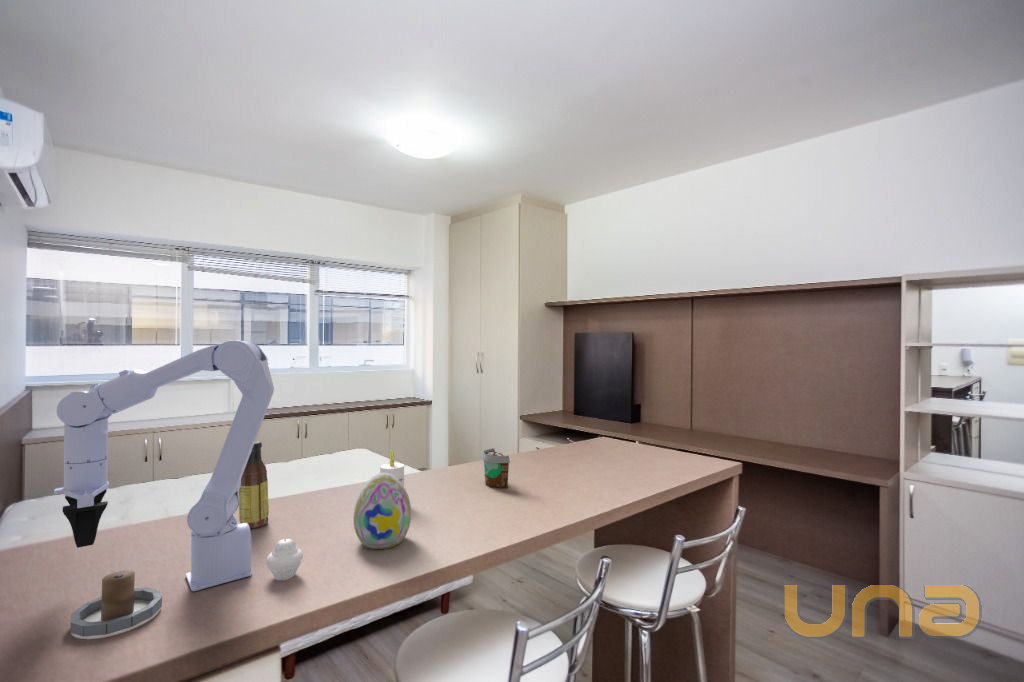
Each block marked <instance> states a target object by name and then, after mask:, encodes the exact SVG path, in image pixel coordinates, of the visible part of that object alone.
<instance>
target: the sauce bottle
mask: <svg viewBox="0 0 1024 682" xmlns="http://www.w3.org/2000/svg"><path fill="white" fill-rule="evenodd" d="M262 446H263V444H262V441H261V440H255V443H254V446H253V448H252V451H251V454H250V456H249V459H248V462H247V464H246V467H245V470H244V472H243V475H242V477H241V486H240V488H239V506H238V520H239V523H248V525H249V527H250V530H251V529H257V528H261V527H264V526H265V525H267V524H268V522H269V512H270V511H269V510H270V509H269V508H270V507H269V483H268V482H269V481H268V479H269V478H268V470H267V467H266V465H265V463H264V462H263V460H262Z"/></svg>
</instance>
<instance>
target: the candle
mask: <svg viewBox="0 0 1024 682" xmlns="http://www.w3.org/2000/svg"><path fill="white" fill-rule="evenodd" d="M379 471H380V472H379V473H389V474H391V475H393V476H395V477H396V478H397V479H398V480H399V481H400V482H401V483H402V485H403V486H404V487H405V464H404V463H399V462H395V455H394V451H393V449H392V448H390V449H389V463H384V464H381V465H380V466H379Z"/></svg>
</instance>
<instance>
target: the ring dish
mask: <svg viewBox="0 0 1024 682" xmlns="http://www.w3.org/2000/svg"><path fill="white" fill-rule="evenodd" d="M101 602H102V595H101V596H98V597H97V598H95V599H92V600H90V601H87V602H86V603H84V604H82V605H80V607H78V608H77V609H76V610H74V611H73V612H71V614H70V620H69V621H70V623H69V624H70V625H69V626H70V628H69V631H70V632H69V633H70V635H71V636H72V637H74V638H75V639H78V640H79V639H80V640H97V639H103V638H109V637H113V636H118V635H121V634H123V633H126V632H129V631H132V630H134V629H137V628H139V627H141V626H143V625H145V624H146V623H148V622H150V621H151V620H153V619H154V618H155V617H156V616H158V614H159V613H160V611H161V608H162V607H163V596H162V592H161V590H160V589H157V588H153V587H152V588H151V587H134V612H133V613H132V614H130V615H127V616H123V617H120V618H116V619H113V620H109V621H102V620H101Z"/></svg>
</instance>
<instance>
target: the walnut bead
mask: <svg viewBox="0 0 1024 682" xmlns="http://www.w3.org/2000/svg"><path fill="white" fill-rule="evenodd" d="M135 574H136V572H135V571H133V570H127V569H126V570H119V571H114V572H112V573H109V574H107V575H105V576H103V578H102V579H101V596H102V602H101V620H102V621H109V620H113V619H116V618H120V617H123V616H127V615H130V614H132V613H133V612H134V588H135V581H136V580H135V577H136V575H135Z"/></svg>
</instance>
